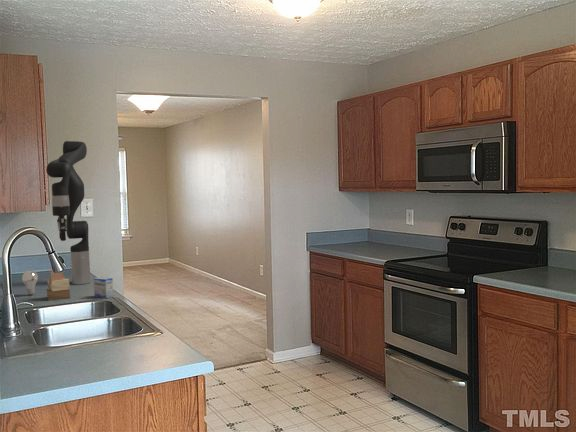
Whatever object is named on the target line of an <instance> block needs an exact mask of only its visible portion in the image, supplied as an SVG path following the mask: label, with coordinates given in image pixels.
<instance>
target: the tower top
mask: <svg viewBox="0 0 576 432" xmlns="http://www.w3.org/2000/svg"><path fill="white" fill-rule="evenodd" d="M47 289H49V290H51V291H59V290H66V289H70V279H69V278H67V277H64V280H55V281H52V280H51V278H49V279H47Z"/></svg>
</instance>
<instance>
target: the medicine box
mask: <svg viewBox="0 0 576 432" xmlns="http://www.w3.org/2000/svg"><path fill="white" fill-rule="evenodd" d="M93 293H94V294H93V295H94V298H101V299H102V298H103V299H107V298H112V297H114V279H113V278H111V277H95V278H93Z"/></svg>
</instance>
